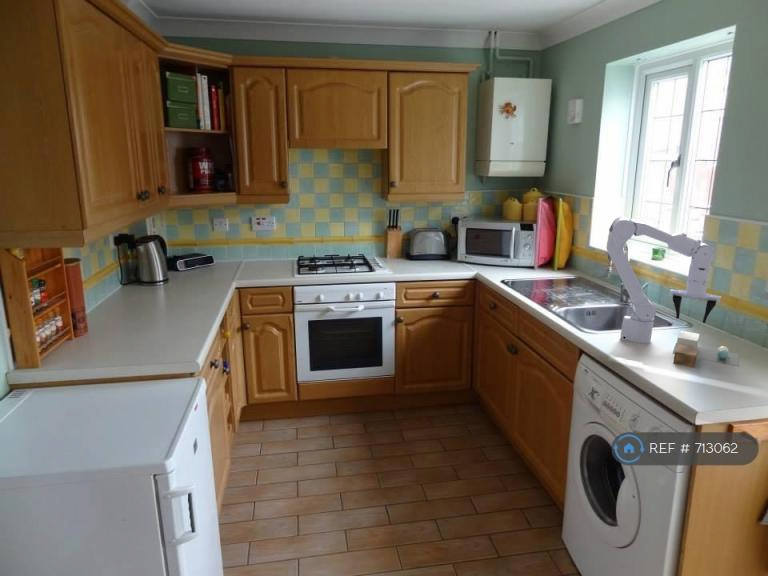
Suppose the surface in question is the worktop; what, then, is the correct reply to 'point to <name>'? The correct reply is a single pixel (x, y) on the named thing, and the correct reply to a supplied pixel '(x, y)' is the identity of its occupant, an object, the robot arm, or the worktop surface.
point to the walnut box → (685, 355)
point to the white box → (688, 339)
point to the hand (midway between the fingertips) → (690, 320)
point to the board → (715, 356)
